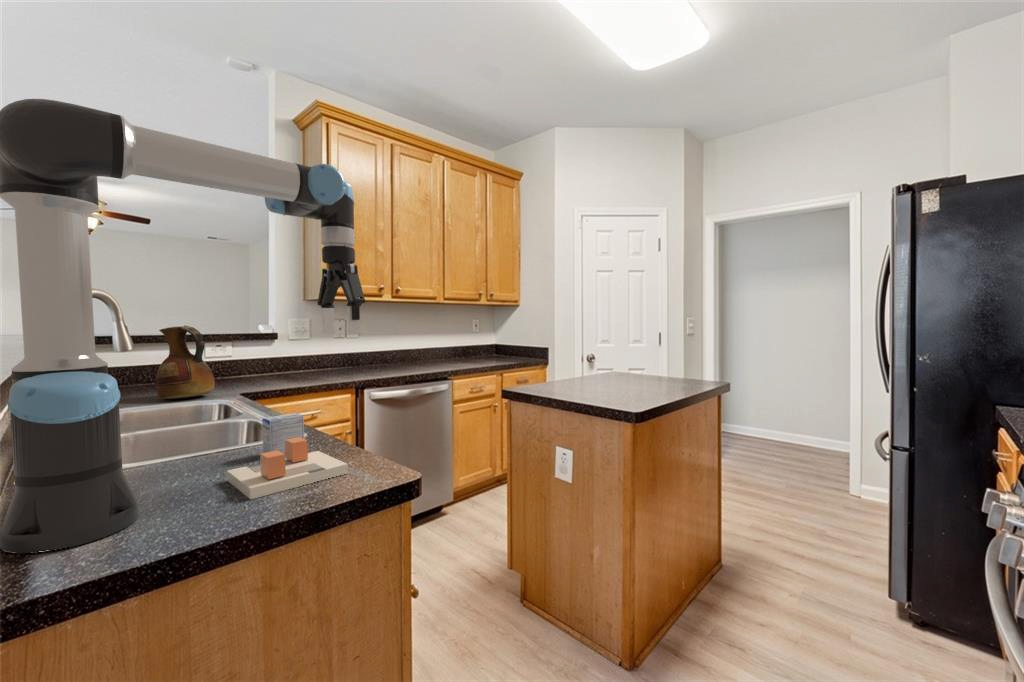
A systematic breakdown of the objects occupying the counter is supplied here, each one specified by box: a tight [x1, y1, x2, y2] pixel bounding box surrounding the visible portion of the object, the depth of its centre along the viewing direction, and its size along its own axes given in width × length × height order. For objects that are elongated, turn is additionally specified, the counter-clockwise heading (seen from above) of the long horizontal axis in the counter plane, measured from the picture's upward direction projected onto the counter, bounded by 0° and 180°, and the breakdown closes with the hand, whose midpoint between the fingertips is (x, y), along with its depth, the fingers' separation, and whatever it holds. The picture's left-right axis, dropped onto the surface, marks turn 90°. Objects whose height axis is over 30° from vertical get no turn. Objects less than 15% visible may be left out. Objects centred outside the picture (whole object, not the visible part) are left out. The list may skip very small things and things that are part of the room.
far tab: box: [285, 437, 309, 462], centre depth 96 cm, size 3×4×4 cm
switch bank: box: [226, 450, 349, 500], centre depth 91 cm, size 18×14×2 cm
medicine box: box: [261, 412, 305, 455], centre depth 109 cm, size 8×4×9 cm, turn 141°
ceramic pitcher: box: [155, 325, 216, 400], centre depth 187 cm, size 20×20×30 cm
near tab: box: [259, 450, 286, 479], centre depth 86 cm, size 3×4×4 cm
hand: (340, 334), depth 112 cm, fingers open, 13 cm apart
